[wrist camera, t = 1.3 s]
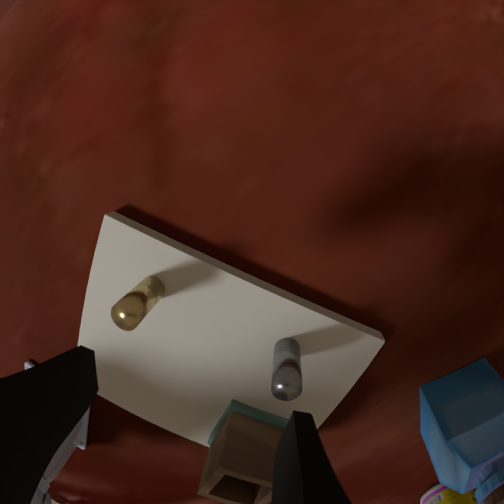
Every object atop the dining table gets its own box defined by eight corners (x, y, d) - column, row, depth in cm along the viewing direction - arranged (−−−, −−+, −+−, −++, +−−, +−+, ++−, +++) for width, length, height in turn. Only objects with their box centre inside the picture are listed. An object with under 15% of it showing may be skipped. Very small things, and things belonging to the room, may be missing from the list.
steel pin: (292, 362, 19) (293, 404, 15) (269, 353, 19) (265, 394, 15) (304, 343, 19) (308, 384, 15) (281, 333, 19) (279, 373, 15)
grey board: (279, 459, 24) (278, 469, 22) (80, 372, 23) (74, 380, 22) (380, 332, 19) (385, 341, 18) (114, 211, 19) (104, 214, 18)
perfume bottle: (419, 385, 20) (473, 507, 9) (484, 357, 19) (557, 455, 8) (420, 432, 22) (457, 538, 10) (478, 406, 21) (530, 498, 9)
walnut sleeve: (264, 454, 22) (258, 512, 16) (209, 435, 22) (193, 493, 16) (293, 420, 21) (292, 485, 15) (232, 399, 20) (216, 464, 15)
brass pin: (160, 304, 19) (134, 336, 15) (138, 293, 19) (108, 322, 15) (168, 282, 18) (141, 311, 15) (145, 271, 18) (114, 297, 15)
